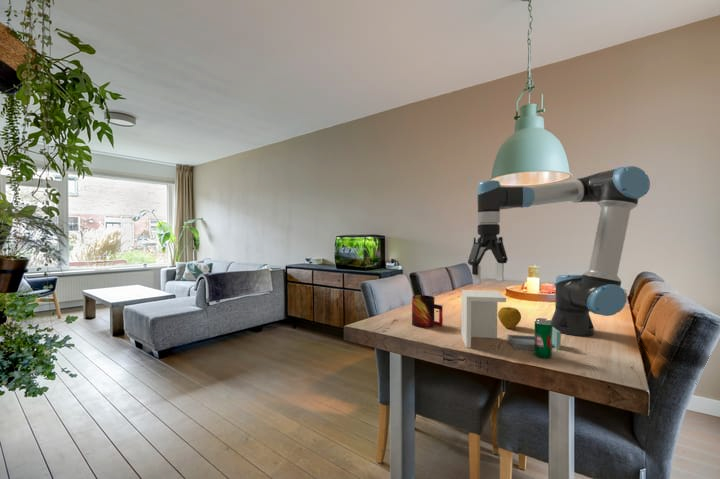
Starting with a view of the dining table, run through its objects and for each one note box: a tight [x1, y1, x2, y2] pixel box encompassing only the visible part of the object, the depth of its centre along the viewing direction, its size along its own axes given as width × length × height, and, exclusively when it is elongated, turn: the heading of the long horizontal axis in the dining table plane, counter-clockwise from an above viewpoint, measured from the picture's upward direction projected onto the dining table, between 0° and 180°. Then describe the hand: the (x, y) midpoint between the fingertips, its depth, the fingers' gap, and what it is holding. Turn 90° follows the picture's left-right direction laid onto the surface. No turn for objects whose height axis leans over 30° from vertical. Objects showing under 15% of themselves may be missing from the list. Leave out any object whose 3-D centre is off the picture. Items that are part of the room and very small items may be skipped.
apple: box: [497, 306, 522, 330], centre depth 139 cm, size 9×9×9 cm
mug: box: [411, 294, 444, 329], centre depth 143 cm, size 10×14×12 cm
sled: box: [507, 327, 562, 351], centre depth 117 cm, size 15×10×6 cm
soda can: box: [533, 317, 553, 359], centre depth 107 cm, size 5×5×12 cm
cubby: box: [461, 289, 507, 349], centre depth 120 cm, size 13×13×18 cm
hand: (488, 282), depth 119 cm, fingers open, 13 cm apart
